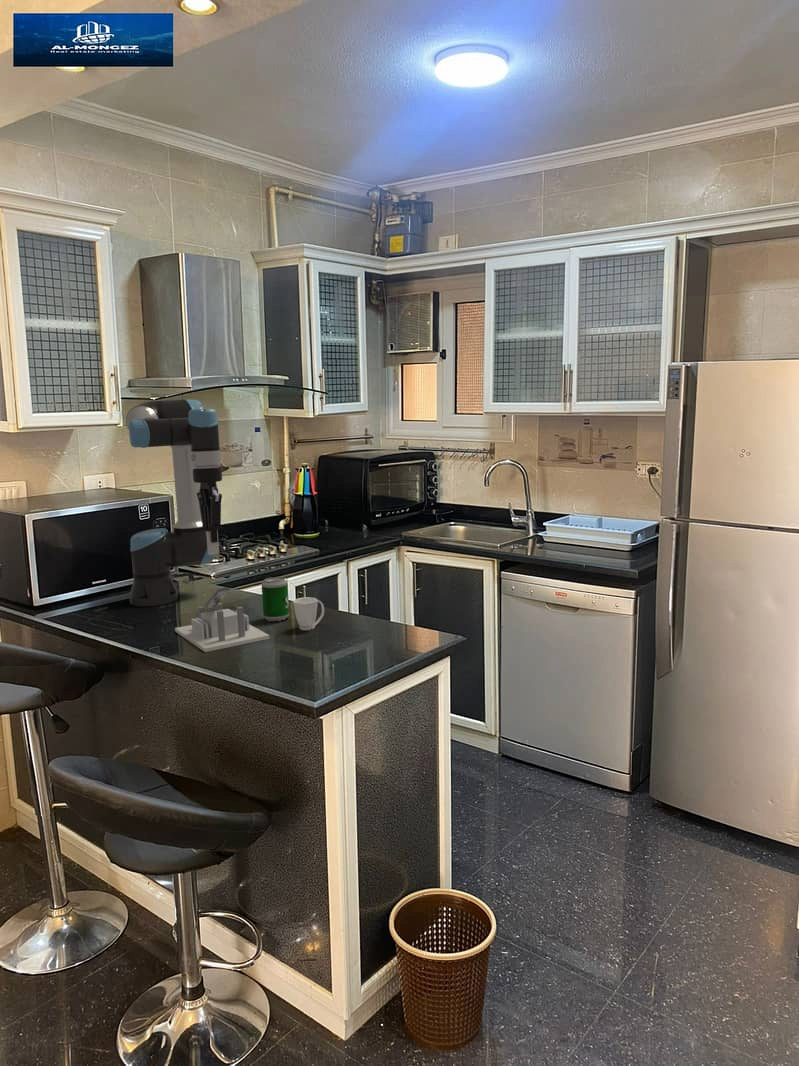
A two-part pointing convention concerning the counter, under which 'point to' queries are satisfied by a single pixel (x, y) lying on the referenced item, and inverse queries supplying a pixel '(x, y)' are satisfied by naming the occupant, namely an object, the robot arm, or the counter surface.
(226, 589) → the lever
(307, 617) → the cup
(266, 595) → the soda can
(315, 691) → the counter surface
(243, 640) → the heatsink base
